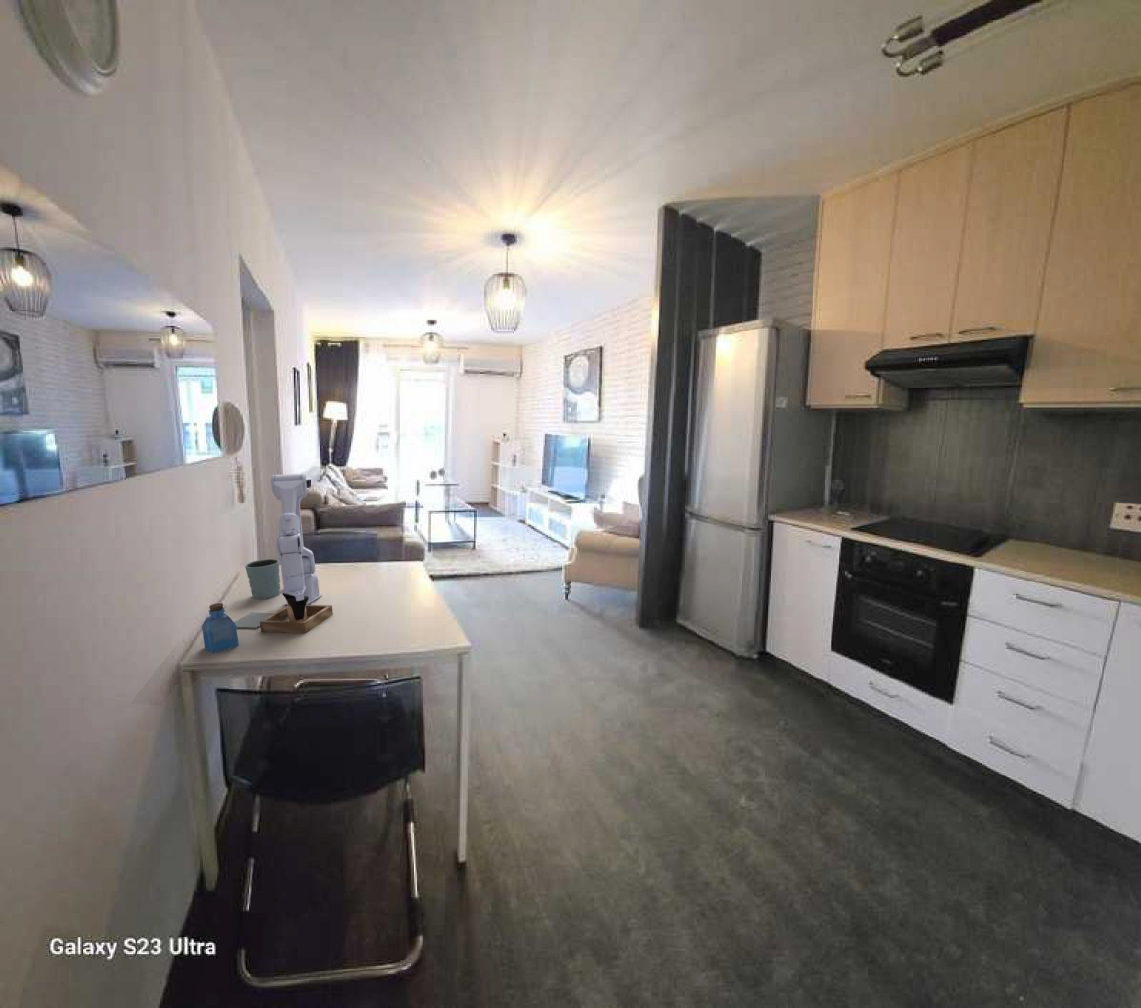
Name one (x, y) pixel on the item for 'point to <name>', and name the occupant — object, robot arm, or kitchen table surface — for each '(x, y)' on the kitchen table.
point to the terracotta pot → (291, 615)
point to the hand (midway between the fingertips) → (297, 616)
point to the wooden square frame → (277, 625)
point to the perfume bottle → (219, 630)
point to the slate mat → (251, 620)
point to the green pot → (264, 578)
